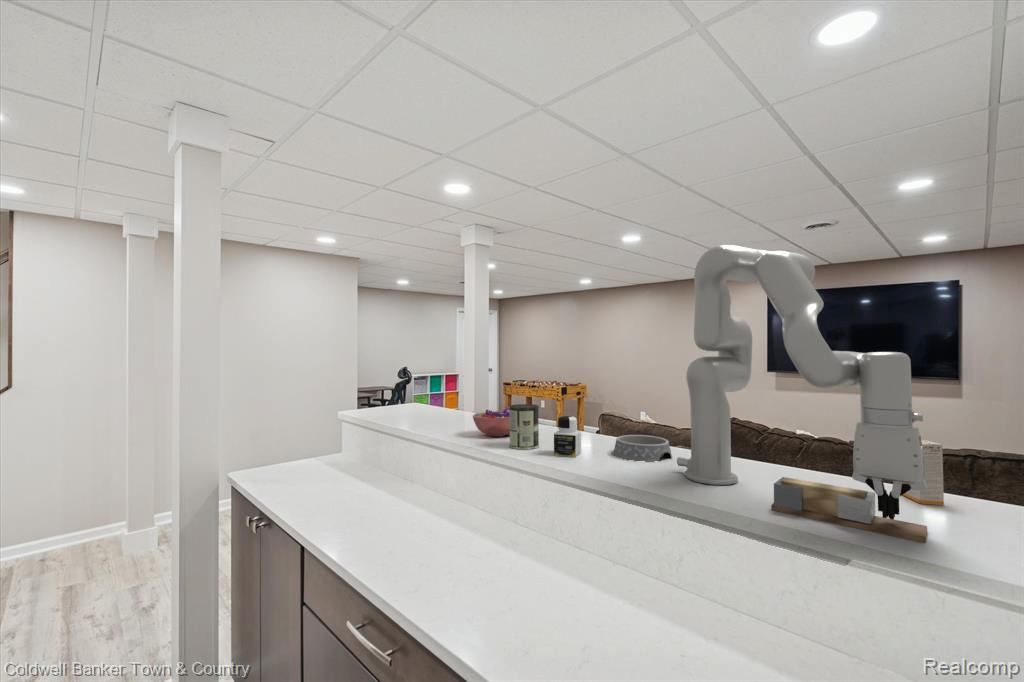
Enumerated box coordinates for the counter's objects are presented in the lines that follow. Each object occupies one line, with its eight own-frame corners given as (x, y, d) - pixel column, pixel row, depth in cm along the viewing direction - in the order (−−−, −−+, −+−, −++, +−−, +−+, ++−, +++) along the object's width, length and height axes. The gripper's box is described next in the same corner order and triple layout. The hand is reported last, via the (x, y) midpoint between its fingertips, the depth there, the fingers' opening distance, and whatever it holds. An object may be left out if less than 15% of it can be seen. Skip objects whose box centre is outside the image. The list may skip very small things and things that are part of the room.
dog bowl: (682, 456, 146) (682, 439, 146) (647, 465, 134) (647, 447, 134) (637, 447, 159) (637, 432, 159) (602, 455, 148) (602, 438, 148)
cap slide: (837, 517, 88) (837, 495, 89) (844, 508, 93) (843, 487, 94) (870, 524, 85) (870, 501, 85) (875, 514, 90) (875, 492, 90)
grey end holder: (773, 505, 96) (773, 483, 96) (782, 497, 101) (782, 477, 101) (801, 511, 93) (801, 488, 93) (809, 502, 98) (809, 481, 98)
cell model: (471, 432, 187) (471, 404, 188) (520, 431, 190) (520, 403, 190) (472, 440, 171) (472, 409, 171) (526, 439, 173) (526, 409, 173)
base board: (771, 509, 96) (771, 504, 96) (780, 501, 101) (780, 497, 101) (925, 542, 80) (925, 537, 80) (927, 531, 85) (927, 526, 85)
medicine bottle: (553, 455, 146) (553, 417, 146) (559, 451, 153) (559, 414, 153) (575, 457, 143) (575, 418, 144) (581, 452, 150) (581, 415, 150)
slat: (781, 504, 97) (781, 480, 97) (785, 500, 99) (785, 477, 99) (865, 521, 87) (864, 495, 87) (867, 517, 89) (867, 491, 89)
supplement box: (945, 505, 99) (944, 444, 99) (919, 504, 100) (918, 443, 100) (919, 494, 107) (918, 437, 107) (896, 492, 108) (895, 436, 108)
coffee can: (527, 442, 167) (527, 403, 167) (544, 447, 158) (544, 406, 159) (503, 445, 161) (503, 405, 161) (520, 451, 153) (520, 408, 153)
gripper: (940, 419, 84) (944, 521, 83) (841, 412, 94) (843, 503, 94) (939, 424, 79) (943, 533, 78) (834, 416, 89) (836, 512, 88)
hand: (888, 516), depth 86 cm, fingers closed
